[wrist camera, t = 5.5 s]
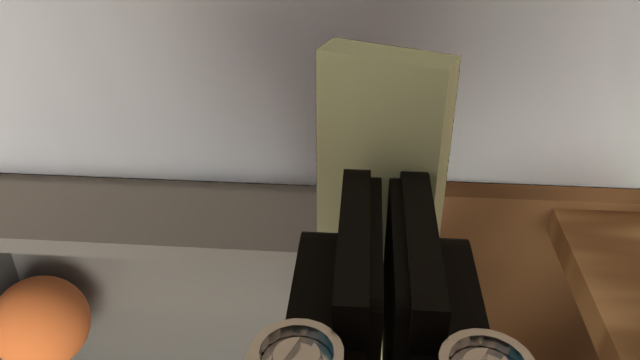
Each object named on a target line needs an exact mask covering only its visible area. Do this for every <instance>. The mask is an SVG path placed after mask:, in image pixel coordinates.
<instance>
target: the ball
mask: <svg viewBox="0 0 640 360" xmlns="http://www.w3.org/2000/svg"><path fill="white" fill-rule="evenodd" d="M90 326H91V312H90V307H89V304H88V302H87V300H86V298H85V296H84V295H83V293H82V292H81V291H80V290H79V289H78V288H77V287H76V286H75V285H73V284H72V283H70V282H69V281H67V280H65V279H62V278H59V277H55V276H46V275H45V276H34V277H30V278H27V279H24V280H21V281H19V282H17V283H15V284H14V285H12V286H11V287H9V288H8V289H7V290H6V291H5V292H4V293H3V294H2V295H1V296H0V358H1V359H2V360H70V359H71V358H73V357H74V356H75V355H76V354H77V353H78V352H79V350H80V349H81V348H82V346H83V345H84V343H85V341H86V339H87V337H88V334H89V331H90Z"/></svg>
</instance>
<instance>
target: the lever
mask: <svg viewBox="0 0 640 360" xmlns="http://www.w3.org/2000/svg"><path fill="white" fill-rule="evenodd" d="M460 62H461V56H459V55H452V54H445V53H438V52H431V51H424V50H417V49H411V48H404V47H397V46H390V45H383V44H376V43H369V42H362V41H356V40H349V39H342V38H335V37H334V38H332V39H331V40H329V41H328V42H326V43H325V44H323V45H322V46H320V47H319V48H317V49H316V153H317V232H328V233H338V227H339V216H340V205H341V193H342V182H343V171H344V169H359V170H371V177H379V178H382V221H383V263H384V249H385V234H386V220H387V205H388V191H389V179H390V178H400V172H401V171H409V172H429V175H430V181H431V188H432V194H433V200H434V206H435V212H436V219H437V225H438V231H439V237H440V229H441V221H442V212H443V204H444V196H445V187H446V179H447V170H448V162H449V154H450V145H451V137H452V129H453V120H454V112H455V104H456V95H457V87H458V79H459V70H460ZM381 360H382V348H381Z"/></svg>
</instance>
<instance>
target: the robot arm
mask: <svg viewBox="0 0 640 360" xmlns="http://www.w3.org/2000/svg"><path fill="white" fill-rule="evenodd" d="M381 348H382V360H535V359H534V357H533V356H532V355H531V353H530V352H529V350H528V349H527V348H526V347H524V346H523V345H522V344H521V343H520V342H518V341H517V340H516V339H514V338H512V337H510V336H508V335H506V334H504V333H501V332H497V331H494V330H490V326H489V322H488V318H487V313H486V309H485V305H484V301H483V296H482V292H481V288H480V283H479V279H478V275H477V270H476V266H475V262H474V257H473V253H472V249H471V245H470V242H469V240H468V239H456V238H440V237H439V231H438V225H437V219H436V212H435V206H434V200H433V194H432V188H431V181H430V175H429V172H409V171H401V172H400V178H390V179H389V191H388V205H387V220H386V234H385V249H384V263H383V221H382V178H379V177H371V170H359V169H344V171H343V182H342V193H341V205H340V216H339V227H338V233H328V232H306V231H302V232H301V236H300V241H299V246H298V252H297V258H296V263H295V269H294V274H293V280H292V285H291V291H290V296H289V302H288V308H287V313H286V319H285V320H281V321H278V322H276V323H273V324H271V325H269V326H267V327H266V328H264V329H263V330H262V331H260V332H259V333H258V334H257V335H256V337H255V338H254V340H253V341H252V343H251V344H250V347H249V349H248V351H247V353H246V356H245V358H244V360H381Z"/></svg>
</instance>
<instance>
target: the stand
mask: <svg viewBox="0 0 640 360" xmlns="http://www.w3.org/2000/svg"><path fill="white" fill-rule="evenodd" d="M440 238H456V239H468V240H469V242H470V245H471V249H472V253H473V257H474V262H475V266H476V270H477V275H478V279H479V283H480V288H481V292H482V296H483V301H484V305H485V309H486V313H487V318H488V322H489V326H490V330H494V331H497V332H501V333H504V334H506V335H508V336H510V337H512V338H514V339H516V340H517V341H518V342H520V343H521V344H522V345H523V346H524V347H526V348H527V349H528V350H529V352H530V353H531V355H532V356H533V357H534V359H535V360H640V189H619V188H594V187H569V186H543V185H518V184H492V183H467V182H446V187H445V196H444V204H443V212H442V221H441V229H440Z"/></svg>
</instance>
